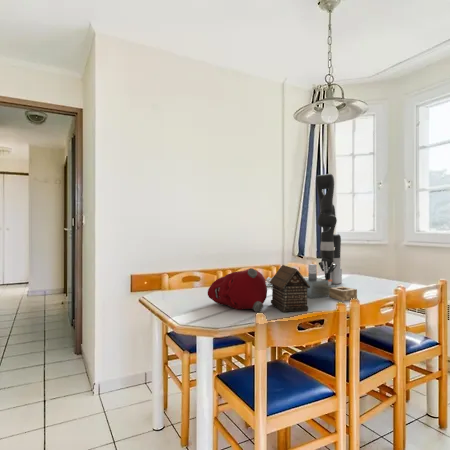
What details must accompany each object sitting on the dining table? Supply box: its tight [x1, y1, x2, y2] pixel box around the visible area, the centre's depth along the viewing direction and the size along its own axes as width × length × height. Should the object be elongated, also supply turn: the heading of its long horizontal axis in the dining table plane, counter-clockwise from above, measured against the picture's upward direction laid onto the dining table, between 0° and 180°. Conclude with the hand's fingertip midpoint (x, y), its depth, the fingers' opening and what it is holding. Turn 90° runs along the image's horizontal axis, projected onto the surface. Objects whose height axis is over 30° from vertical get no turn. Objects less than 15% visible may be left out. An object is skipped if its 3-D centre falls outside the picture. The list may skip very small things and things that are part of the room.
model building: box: [270, 264, 310, 313], centre depth 166 cm, size 18×14×20 cm
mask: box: [207, 267, 268, 313], centre depth 170 cm, size 20×26×30 cm
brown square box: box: [329, 286, 358, 302], centre depth 185 cm, size 10×10×5 cm
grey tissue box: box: [303, 277, 338, 299], centre depth 194 cm, size 20×12×9 cm, turn 116°
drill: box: [307, 263, 318, 280], centre depth 193 cm, size 3×3×14 cm
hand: (327, 279), depth 197 cm, fingers closed
